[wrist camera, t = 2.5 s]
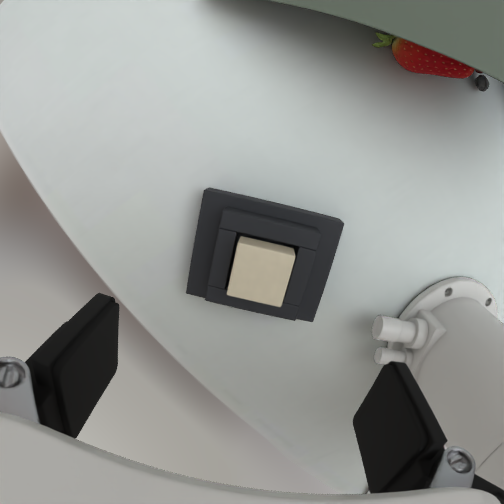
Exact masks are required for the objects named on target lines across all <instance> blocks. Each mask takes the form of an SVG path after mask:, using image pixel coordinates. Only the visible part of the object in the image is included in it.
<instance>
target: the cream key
mask: <svg viewBox="0 0 504 504" xmlns="http://www.w3.org/2000/svg"><path fill="white" fill-rule="evenodd" d="M294 260H295V252H294V249H293V248H290V247H286V246H282V245H278V244H274V243H269V242H265V241H261V240H256V239H252V238H248V237H244V236H241V237H240V239H239V241H238V244H237V248H236V253H235V258H234V262H233V267H232V271H231V276H230V281H229V285H228V290H227V295H229V296H233V297H237V298H242V299H246V300H250V301H255V302H259V303H264V304H268V305H272V306H277V307H281V306H282V302H283V299H284V295H285V292H286V289H287V285H288V282H289V278H290V275H291V271H292V268H293V264H294Z"/></svg>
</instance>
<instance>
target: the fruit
mask: <svg viewBox="0 0 504 504" xmlns="http://www.w3.org/2000/svg"><path fill="white" fill-rule="evenodd" d="M375 33H376V32H375ZM376 35H377V37H378V38H379V39H380V40H382V41H383V42H377V43H374V44H372V45H373V46H374V47H378V48H379V47H384V46H389V45H390V44H391V43H392V40H393V39H394V40H393V43H392V51H393V54H394V57H395V59H396V61H397V62H398V63H399V64H400V65H401V66H402V67H403V68H405V69H406V70H408V71H411V72H414V73H422V74H431V75H438V76H444V77H451V78H466V77H469V76H471V75H472V73H473V72H474V69H475V68H472V67H470V66H468V65H466V64H464V63H462V62H459V61H457V60H455V59H452V58H450V57H448V56H445V55H443V54H440V53H438V52H436V51H433V50H431V49H428V48H425V47H423V46H420V45H418V44H415V43H413V42H410V41H407V40H405V39H402V38H399V37H397V36H394V35H385V34H381V33H376Z"/></svg>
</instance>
